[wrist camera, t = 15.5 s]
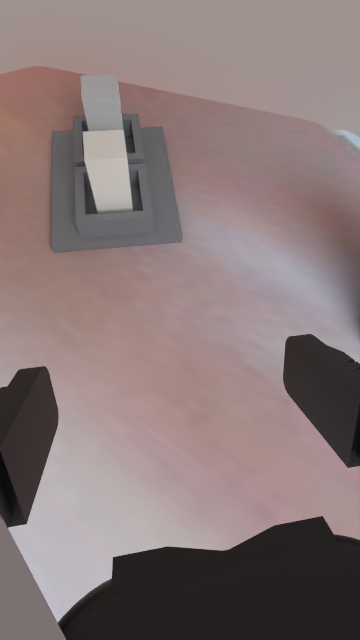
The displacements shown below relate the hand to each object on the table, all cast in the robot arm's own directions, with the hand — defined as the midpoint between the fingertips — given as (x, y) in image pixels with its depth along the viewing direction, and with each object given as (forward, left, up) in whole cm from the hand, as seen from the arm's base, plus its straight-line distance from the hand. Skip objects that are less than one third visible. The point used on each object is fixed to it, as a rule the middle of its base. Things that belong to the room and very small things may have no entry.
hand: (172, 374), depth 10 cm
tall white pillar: (+3, -32, -25) cm, 41 cm away
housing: (+3, -37, -27) cm, 45 cm away
